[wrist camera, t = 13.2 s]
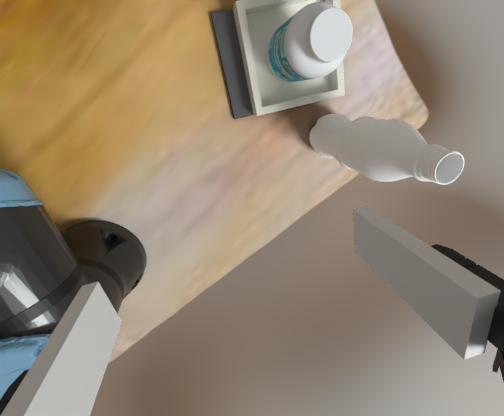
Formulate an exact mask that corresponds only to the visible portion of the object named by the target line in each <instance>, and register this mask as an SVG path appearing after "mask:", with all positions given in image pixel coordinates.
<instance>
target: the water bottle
mask: <svg viewBox="0 0 504 416" xmlns="http://www.w3.org/2000/svg"><path fill="white" fill-rule="evenodd" d="M316 123H317V124H316V125H315V126H314V127H313V128H312V129H311V131H310V137H309V138H310V144H311V145H312V147H313V148H314V150H315V151H316V153H317V154H319V155H320V156H322V157H324V158H336V159H337V161H338V162H339V163H340V164H341V165H342V166H344V167H346V168H348V169H350V170H355V171H357V172H359V173H361V174H364V175H365V176H367V177H368V178H370V179H372V180H376V181H382V182H390V181H396V180H401V179H404V178H408V177H412V176H414V177H415V178H416V179H418V180H420V181H431V182H435V183H437V184H444V185H446V184H449V183H451V182H453V181H454V180H456V179H457V177H459V175H460V174H461V172H462V170H463V168H464V158H463V156H462V155H461V154H460V153H459V152H456V151H451V150H447V149H445V148H443V147H442V146H440V145H436V144H432V145H428V144H427V143H426V141H425V140H424V138H423V137H422V136H421V135H420V133H419V132H418V131H417V130H416V129H415V128H414V127H413V126H411V125H410V124H408V123H406V122H404V121H400V120H394V119H392V120H383V119H375V118H372V117H360V118H357V119H356V120H354V121H351V120H350V119H349V118H347V117H346V116H344V115H341V114H328V115H325V116H323V117H321V118H319V119H318V120H317V122H316Z"/></svg>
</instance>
